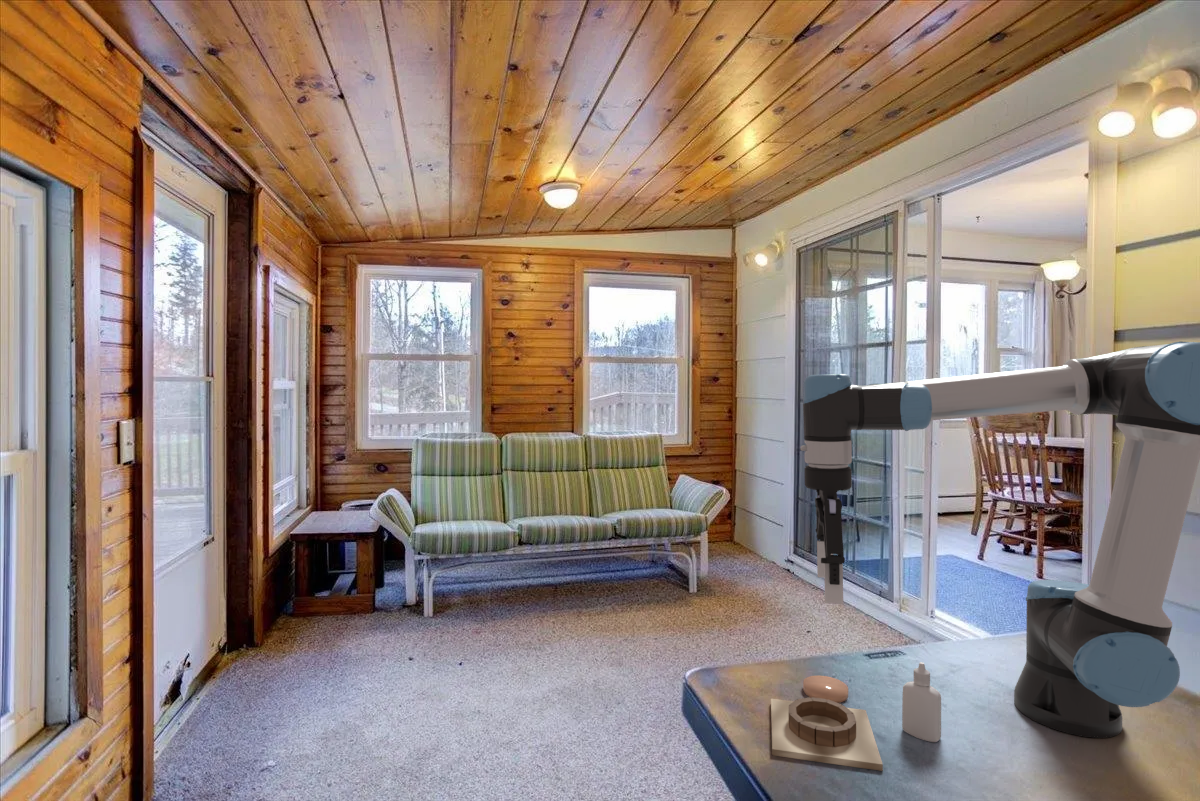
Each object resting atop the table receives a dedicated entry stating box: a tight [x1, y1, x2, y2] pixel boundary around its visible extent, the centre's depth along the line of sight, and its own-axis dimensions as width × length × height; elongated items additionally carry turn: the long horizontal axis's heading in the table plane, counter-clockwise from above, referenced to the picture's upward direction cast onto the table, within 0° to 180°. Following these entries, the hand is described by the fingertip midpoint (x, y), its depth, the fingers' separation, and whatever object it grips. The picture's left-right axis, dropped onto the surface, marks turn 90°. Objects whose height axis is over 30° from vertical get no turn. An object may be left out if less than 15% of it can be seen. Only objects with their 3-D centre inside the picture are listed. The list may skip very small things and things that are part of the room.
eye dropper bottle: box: [901, 661, 942, 743], centre depth 102 cm, size 4×6×12 cm
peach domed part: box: [802, 675, 849, 704], centre depth 116 cm, size 8×8×2 cm
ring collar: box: [770, 696, 884, 772], centre depth 102 cm, size 16×16×4 cm
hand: (829, 589), depth 105 cm, fingers open, 13 cm apart
